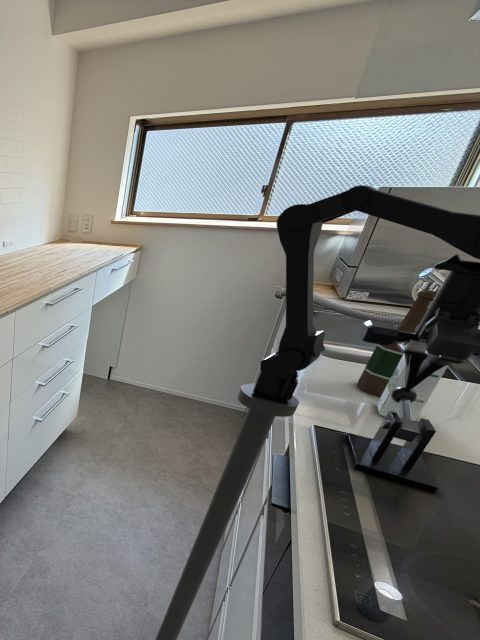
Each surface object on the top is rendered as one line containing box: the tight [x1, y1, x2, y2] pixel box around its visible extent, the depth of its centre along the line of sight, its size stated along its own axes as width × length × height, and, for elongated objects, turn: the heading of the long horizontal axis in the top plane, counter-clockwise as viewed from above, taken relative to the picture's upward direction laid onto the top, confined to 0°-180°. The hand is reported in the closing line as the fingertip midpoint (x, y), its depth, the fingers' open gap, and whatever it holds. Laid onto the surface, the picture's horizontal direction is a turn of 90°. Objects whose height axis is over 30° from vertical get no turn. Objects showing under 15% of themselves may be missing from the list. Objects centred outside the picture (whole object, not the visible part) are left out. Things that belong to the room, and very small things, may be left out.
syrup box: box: [376, 350, 449, 421], centre depth 85 cm, size 6×6×14 cm
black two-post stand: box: [344, 411, 439, 494], centre depth 70 cm, size 12×10×9 cm
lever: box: [391, 387, 420, 442], centre depth 72 cm, size 12×3×3 cm, turn 145°
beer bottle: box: [356, 289, 438, 398], centre depth 93 cm, size 8×8×24 cm
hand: (408, 387), depth 73 cm, fingers closed, pressing on lever
